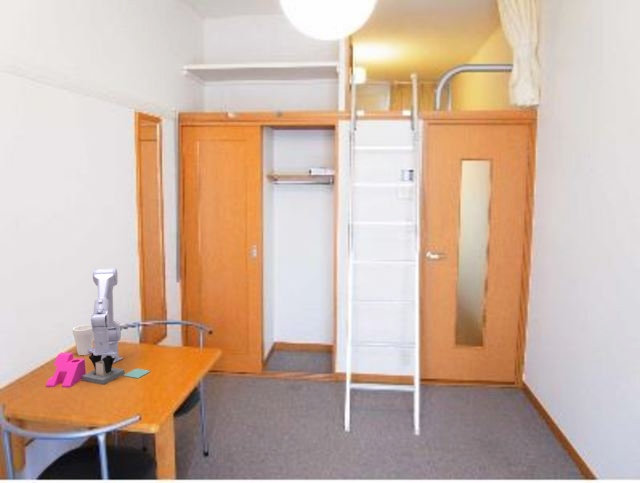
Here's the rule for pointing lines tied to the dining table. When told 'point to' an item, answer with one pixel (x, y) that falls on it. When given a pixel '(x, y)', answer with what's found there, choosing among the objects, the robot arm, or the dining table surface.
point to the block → (100, 368)
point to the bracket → (67, 370)
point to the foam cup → (83, 338)
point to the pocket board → (103, 379)
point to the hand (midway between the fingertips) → (103, 371)
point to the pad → (136, 373)
